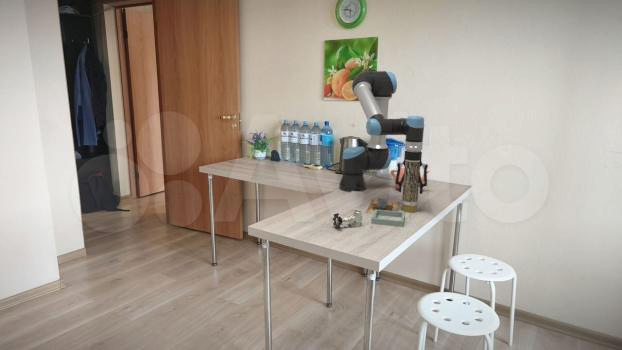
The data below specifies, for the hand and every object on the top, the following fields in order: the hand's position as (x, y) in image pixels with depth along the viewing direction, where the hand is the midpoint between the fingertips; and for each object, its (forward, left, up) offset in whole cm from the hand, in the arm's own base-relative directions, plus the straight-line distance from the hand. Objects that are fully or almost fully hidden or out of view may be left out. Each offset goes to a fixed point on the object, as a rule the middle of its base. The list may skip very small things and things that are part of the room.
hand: (409, 199), depth 186 cm
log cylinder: (0, 0, -6) cm, 6 cm away
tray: (-8, -17, -6) cm, 20 cm away
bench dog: (-12, -7, -5) cm, 15 cm away
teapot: (-2, +41, -6) cm, 42 cm away
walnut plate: (-12, -1, -5) cm, 13 cm away
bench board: (-12, +1, -6) cm, 13 cm away
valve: (-23, -28, -6) cm, 37 cm away
